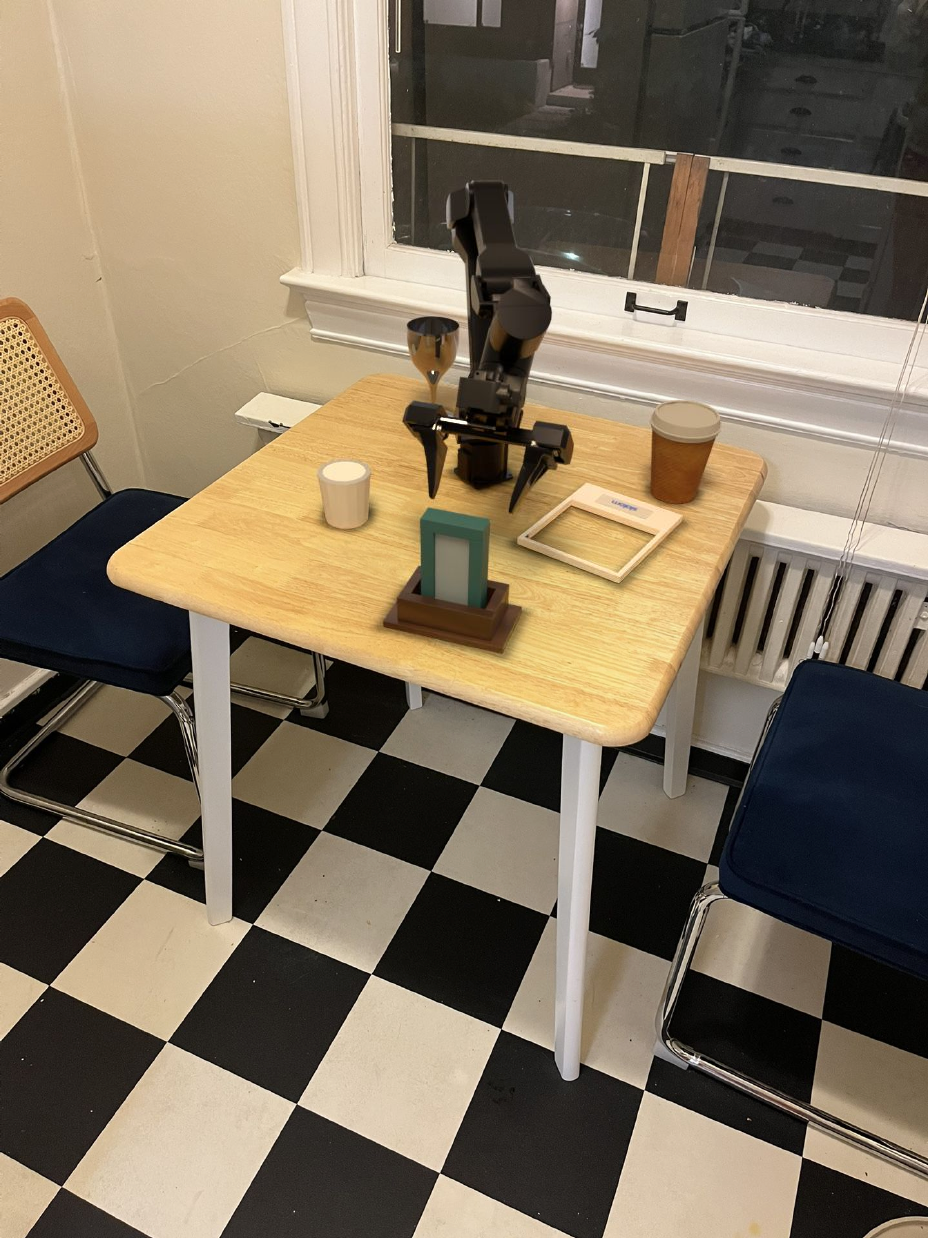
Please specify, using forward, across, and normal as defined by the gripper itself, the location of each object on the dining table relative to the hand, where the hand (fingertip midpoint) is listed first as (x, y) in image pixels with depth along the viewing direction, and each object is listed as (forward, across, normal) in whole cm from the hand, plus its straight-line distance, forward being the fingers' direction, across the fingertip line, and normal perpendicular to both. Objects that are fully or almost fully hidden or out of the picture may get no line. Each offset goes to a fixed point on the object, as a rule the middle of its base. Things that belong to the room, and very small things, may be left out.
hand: (470, 505), depth 100 cm
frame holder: (+12, 0, +4) cm, 13 cm away
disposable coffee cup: (-14, +20, +32) cm, 40 cm away
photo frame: (-5, +12, +22) cm, 25 cm away
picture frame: (+12, 0, +4) cm, 12 cm away
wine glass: (-22, -20, +39) cm, 49 cm away
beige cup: (+1, -20, +16) cm, 26 cm away
